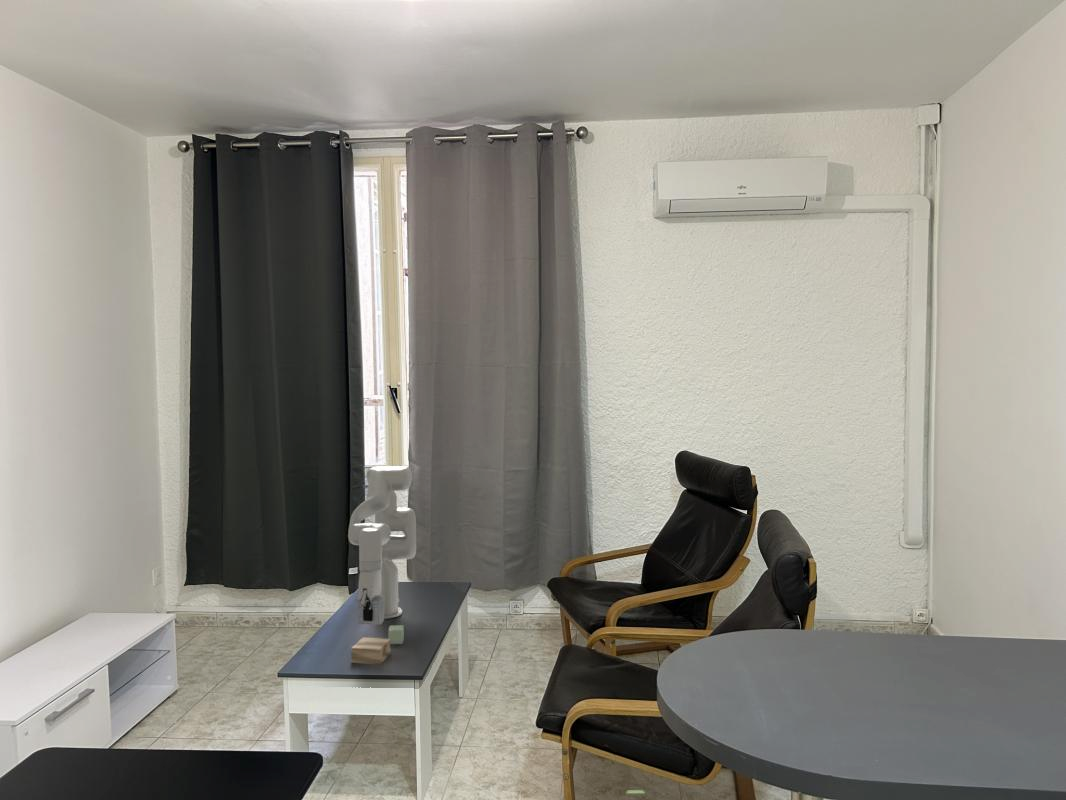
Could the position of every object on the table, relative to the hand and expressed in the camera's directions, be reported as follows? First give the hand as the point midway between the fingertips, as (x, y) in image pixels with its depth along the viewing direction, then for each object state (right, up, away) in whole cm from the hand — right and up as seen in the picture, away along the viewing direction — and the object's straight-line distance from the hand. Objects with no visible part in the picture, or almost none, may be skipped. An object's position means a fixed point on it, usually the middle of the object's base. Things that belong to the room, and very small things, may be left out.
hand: (371, 617), depth 253 cm
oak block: (0, -14, +1) cm, 14 cm away
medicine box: (0, -2, 0) cm, 2 cm away
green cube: (+6, -13, +16) cm, 22 cm away
